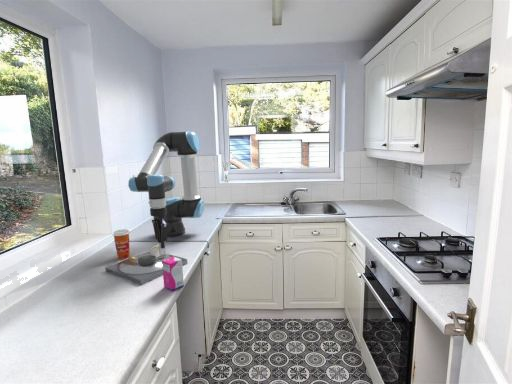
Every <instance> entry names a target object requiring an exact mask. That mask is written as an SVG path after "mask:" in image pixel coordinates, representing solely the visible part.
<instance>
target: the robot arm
mask: <svg viewBox="0 0 512 384" xmlns="http://www.w3.org/2000/svg"><path fill="white" fill-rule="evenodd" d="M200 144H201V143H200V140H199V137H198V135H197V134H196V133H195V131H175V132H174V131H171V132H167V133H164V134H163V135H162V136H160V137H159V138H158V139H157V140H156V141H155V143H154V144H153V146H152V151H151V153H150V155H149V156H148V157H147V159H146V161H145V163H144V164H143V166H142V168H141V169H140V171H139V173H138V174H137V176H132V177H130V178H129V179H128V183H127V185H128V188H129V191H131V192H137V193H147V192H148V204H149V212H150V213H149V214H150V216H151V217H153V219H151V223H152V226H153V233H154V236H155V240H157V241H156V242H157V243H158V244H157V245H159V255H163V254H167V252H166V241H168V237H177V236H182V235H184V234H185V233H186V228H185V225H184V222H183V219H196V218H197V219H199V218H201V217H202V216H203V215H204V212H205V201H204V199H202V198H201V195H200V194H199V189H198V180H197V178H198V177H197V167H196V156H197V154H198V152H199V151H200V147H201V145H200ZM171 152H172V153H173V152H176V153H177V156H178V157H179V159H180V167H181V168H180V169H181V176H182V177H181V179H182V186H183V196H182V197H180V196H177V197H170V198H167V197H166V192H170V191H172V190H174V188H175V187H176V181H175V179H174V177H172V176H170V175H166V176H164V175H163V174H160V173H159V174H157V172H158V171H159V170H160V166H161V165H162V163H163V161H164V159H165V158H166V156H168V155H169V153H171Z"/></svg>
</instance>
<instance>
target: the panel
mask: <svg viewBox="0 0 512 384" xmlns="http://www.w3.org/2000/svg"><path fill="white" fill-rule="evenodd" d="M146 255H150V250H148V251H146V252H143V253H141V254H138V255H135V256H129V257H128V258H126V259H123V260H122V261H119V262H116V263H113V264H110V265H107V266H105V269H104V270H105V272H106V273H109V274H112V275H113V276H117V277H118V278H119V277H120V278H122V279H124V280H126V281H129V282H132V283H135V284H137V285H140V286H142V285H144V284H146V283H149V282H151V281H153V280H154V279H157V278H160V277H161V276H163V269H162V261H163V260H166V259H168V258H171V257H176V258H179V259H182V267H183V266H185V265H186V264H188V258H184V257H180V256H178V255H177V256H176V255H173V254H171V253H169V252H168V253H167V252H166V254H163V255H161V256H159V257H157V258H156V262H155V263H154V264H151V265H146V266H141V265H139V264H138V258H140V257H142V256H146Z"/></svg>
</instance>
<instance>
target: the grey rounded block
mask: <svg viewBox="0 0 512 384" xmlns="http://www.w3.org/2000/svg"><path fill="white" fill-rule="evenodd" d="M149 251H150V255H146V256H142V257H140V258H138V264H139V265H141V266H146V265H151V264H154V263H155V262H156V258H157V257H159V256H161V255H159V245H158V244H156V245H154V246H153V247H151V248H150V247H149Z"/></svg>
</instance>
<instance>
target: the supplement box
mask: <svg viewBox="0 0 512 384" xmlns="http://www.w3.org/2000/svg"><path fill="white" fill-rule="evenodd" d="M162 269H163V275H162V277H163V287H164V288H165V289H167V290H170V291H171V292H174V291H176V290H177V289H178V290H179V289H180V288H182V287H184V286H185V282H184V281H185V280H184V270H183V266H182V259H179V258H176V257H171V258H168V259H166V260H163V261H162Z"/></svg>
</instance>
